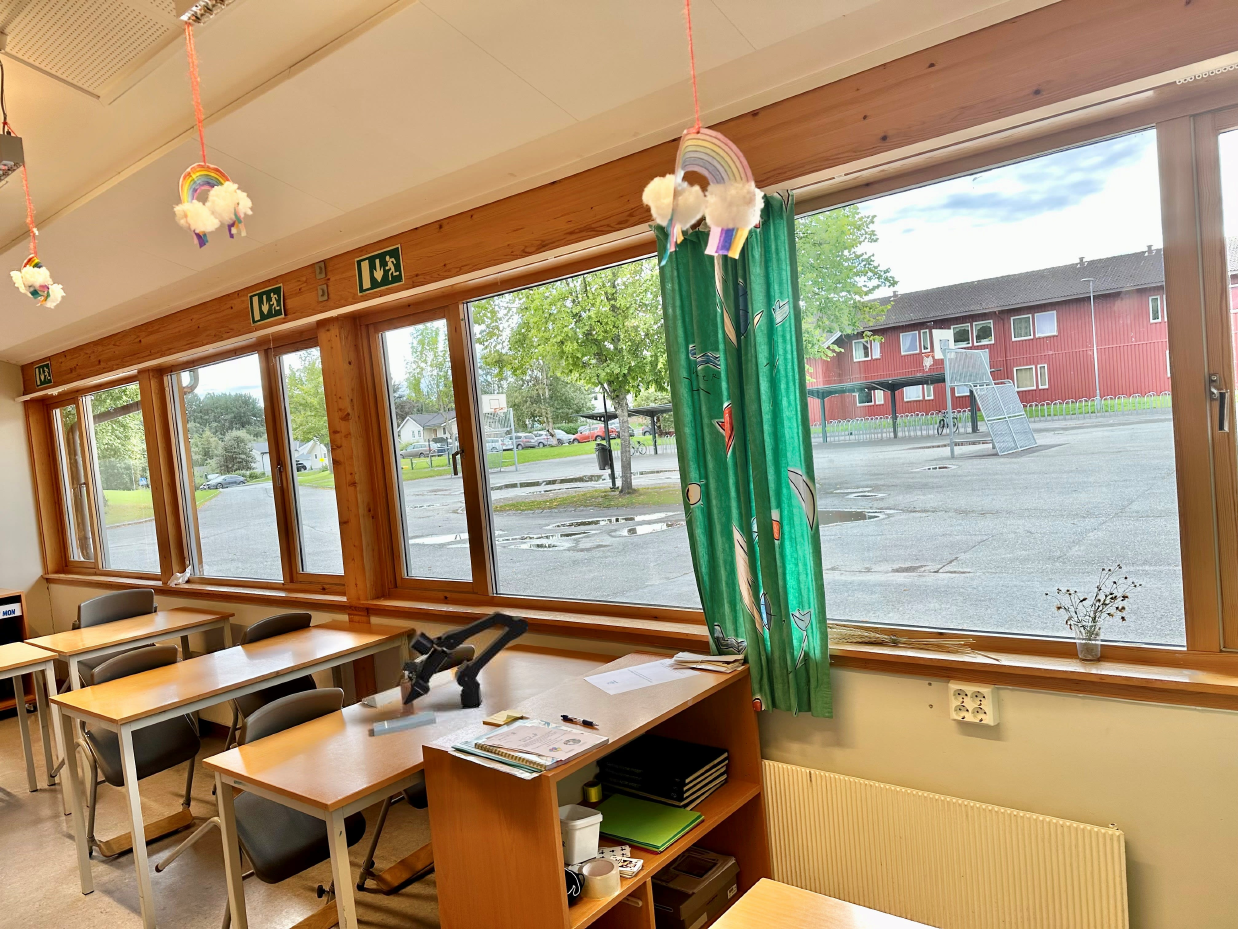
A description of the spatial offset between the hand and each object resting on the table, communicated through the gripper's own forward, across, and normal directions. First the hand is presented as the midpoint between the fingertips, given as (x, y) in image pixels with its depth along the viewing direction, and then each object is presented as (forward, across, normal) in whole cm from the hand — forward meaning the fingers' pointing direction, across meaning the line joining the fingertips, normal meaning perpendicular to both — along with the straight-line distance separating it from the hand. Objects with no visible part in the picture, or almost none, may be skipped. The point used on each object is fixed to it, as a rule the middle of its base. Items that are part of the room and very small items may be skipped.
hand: (403, 700), depth 267 cm
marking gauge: (+4, 0, +6) cm, 7 cm away
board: (+5, +7, +4) cm, 9 cm away
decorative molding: (+2, -33, +8) cm, 34 cm away
